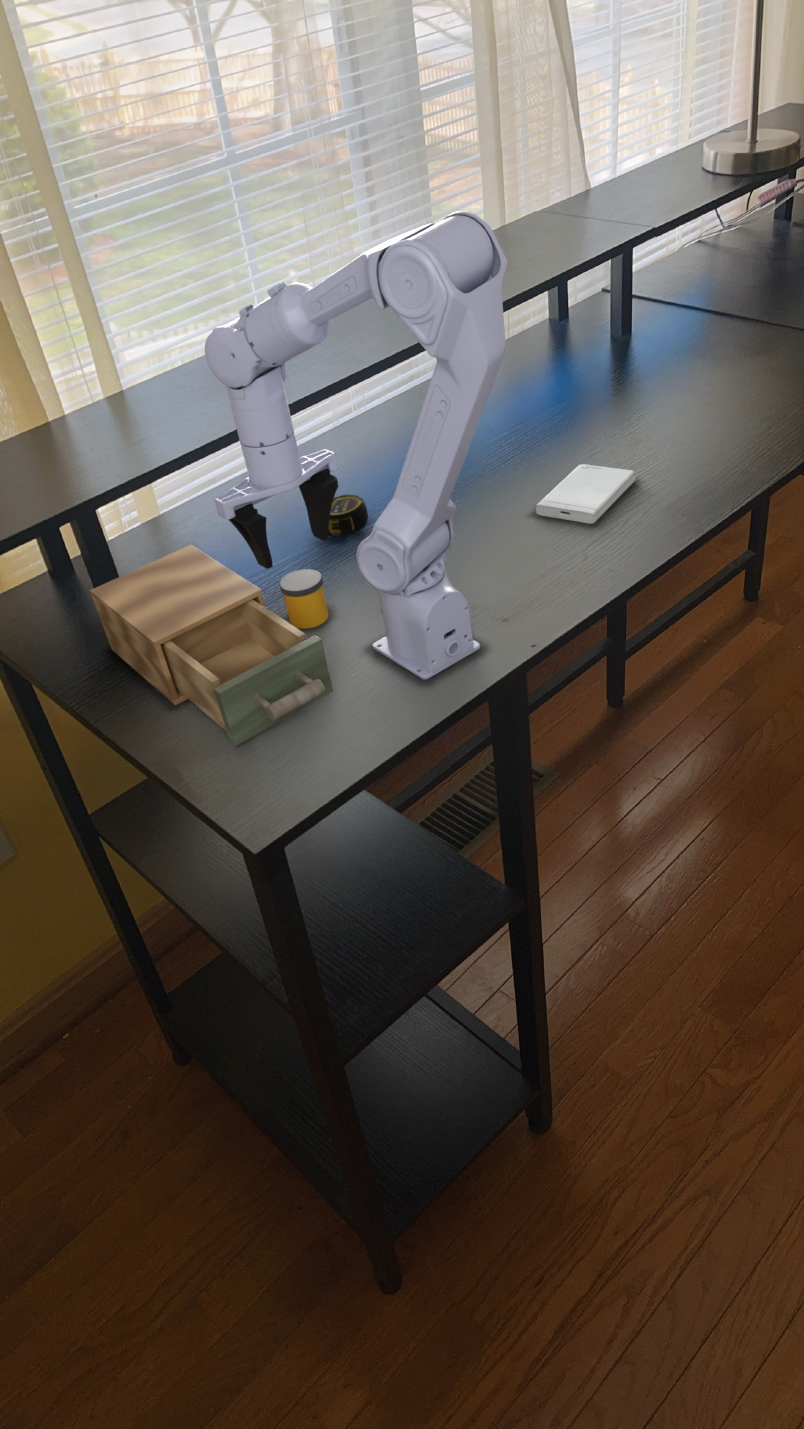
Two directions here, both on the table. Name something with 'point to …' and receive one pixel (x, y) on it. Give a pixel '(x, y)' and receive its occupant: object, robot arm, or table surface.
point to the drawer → (248, 669)
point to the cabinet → (166, 608)
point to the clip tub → (304, 598)
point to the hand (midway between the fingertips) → (293, 551)
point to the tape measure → (347, 515)
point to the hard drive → (586, 493)
